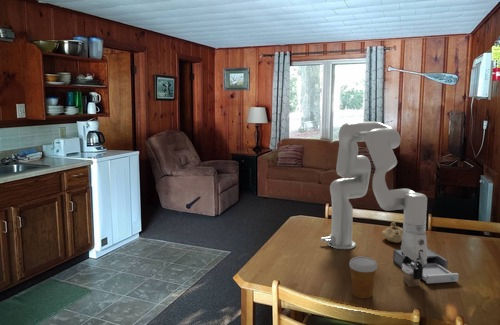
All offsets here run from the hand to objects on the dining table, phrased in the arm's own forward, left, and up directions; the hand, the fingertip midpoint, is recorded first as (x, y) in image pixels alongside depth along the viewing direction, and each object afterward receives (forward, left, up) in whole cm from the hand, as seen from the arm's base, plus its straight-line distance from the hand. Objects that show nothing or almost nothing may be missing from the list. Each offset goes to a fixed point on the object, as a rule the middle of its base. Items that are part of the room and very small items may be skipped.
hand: (412, 274), depth 146 cm
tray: (+11, +4, -3) cm, 12 cm away
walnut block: (0, 0, -4) cm, 4 cm away
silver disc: (0, 0, +1) cm, 1 cm away
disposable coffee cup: (-21, -5, -4) cm, 22 cm away
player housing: (+11, +14, -4) cm, 18 cm away
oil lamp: (+16, +44, -4) cm, 47 cm away
